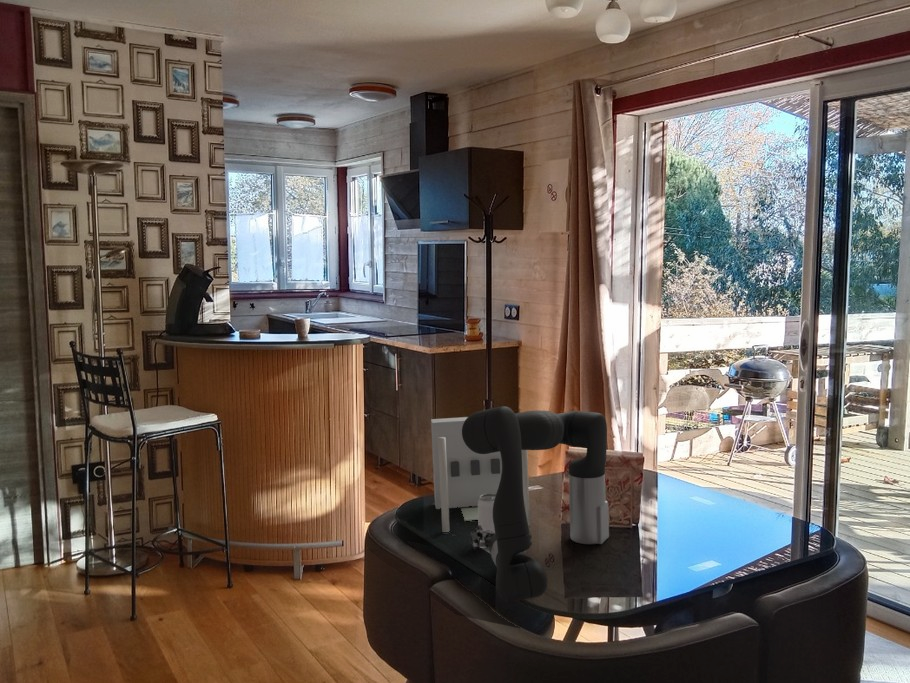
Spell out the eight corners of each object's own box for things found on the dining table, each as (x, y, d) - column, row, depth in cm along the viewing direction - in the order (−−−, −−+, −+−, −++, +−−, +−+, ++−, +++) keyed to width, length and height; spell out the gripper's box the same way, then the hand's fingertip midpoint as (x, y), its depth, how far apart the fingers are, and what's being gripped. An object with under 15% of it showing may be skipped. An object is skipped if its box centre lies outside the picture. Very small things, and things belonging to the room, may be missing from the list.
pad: (500, 519, 221) (500, 517, 221) (464, 521, 220) (464, 519, 220) (494, 508, 231) (494, 506, 230) (461, 510, 230) (461, 508, 229)
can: (504, 546, 200) (502, 500, 199) (479, 547, 200) (477, 501, 199) (503, 537, 206) (501, 492, 205) (479, 538, 207) (477, 493, 205)
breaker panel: (517, 505, 232) (514, 418, 229) (436, 511, 230) (432, 424, 227) (513, 498, 239) (510, 414, 236) (434, 503, 237) (431, 419, 234)
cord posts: (530, 526, 213) (527, 433, 211) (442, 533, 211) (438, 438, 208) (529, 524, 215) (525, 431, 213) (442, 531, 213) (437, 437, 210)
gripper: (538, 533, 178) (524, 510, 194) (475, 538, 176) (467, 515, 192) (539, 565, 179) (525, 540, 195) (477, 570, 177) (468, 544, 193)
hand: (496, 527), depth 194 cm, fingers open, 8 cm apart
